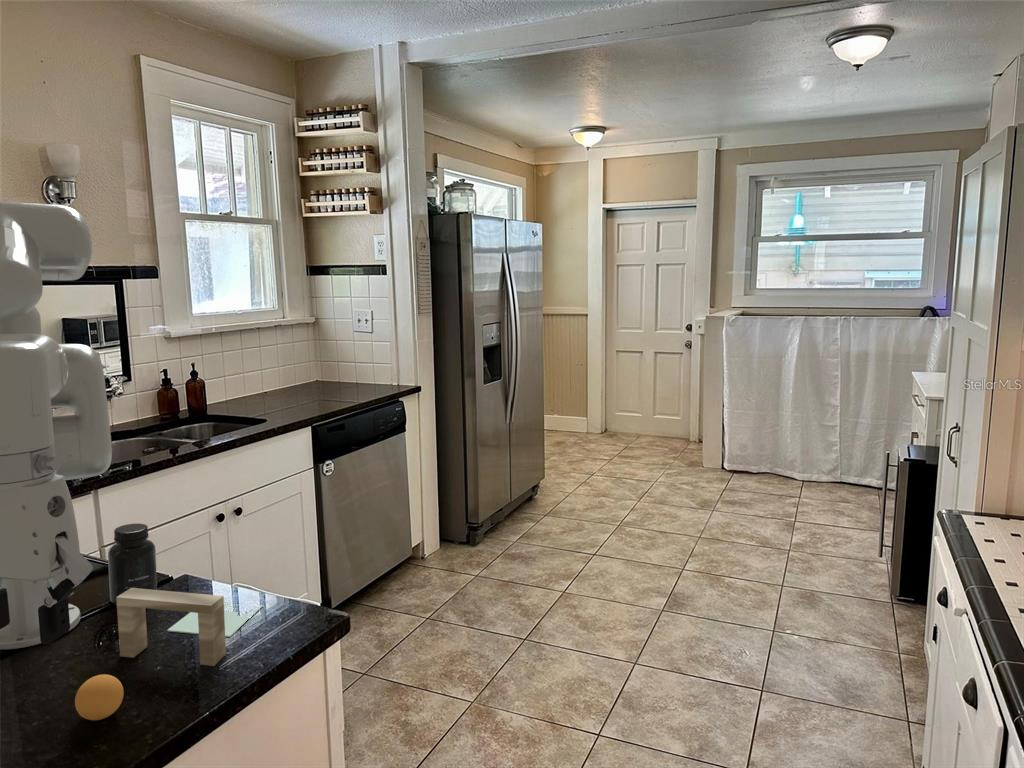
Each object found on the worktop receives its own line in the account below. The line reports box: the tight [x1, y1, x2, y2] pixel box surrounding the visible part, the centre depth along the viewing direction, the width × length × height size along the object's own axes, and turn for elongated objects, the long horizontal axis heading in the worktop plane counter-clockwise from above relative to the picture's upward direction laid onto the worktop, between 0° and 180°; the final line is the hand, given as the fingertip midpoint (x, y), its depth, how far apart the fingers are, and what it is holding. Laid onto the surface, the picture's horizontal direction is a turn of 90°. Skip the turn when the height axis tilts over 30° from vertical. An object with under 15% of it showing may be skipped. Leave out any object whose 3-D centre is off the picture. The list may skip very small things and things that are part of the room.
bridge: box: [116, 588, 227, 667], centre depth 97 cm, size 3×14×9 cm, turn 82°
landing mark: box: [166, 601, 264, 638], centre depth 108 cm, size 10×10×1 cm
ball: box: [74, 674, 125, 721], centre depth 83 cm, size 5×5×5 cm
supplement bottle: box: [107, 523, 158, 606], centre depth 113 cm, size 7×7×12 cm
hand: (24, 632), depth 72 cm, fingers open, 6 cm apart
